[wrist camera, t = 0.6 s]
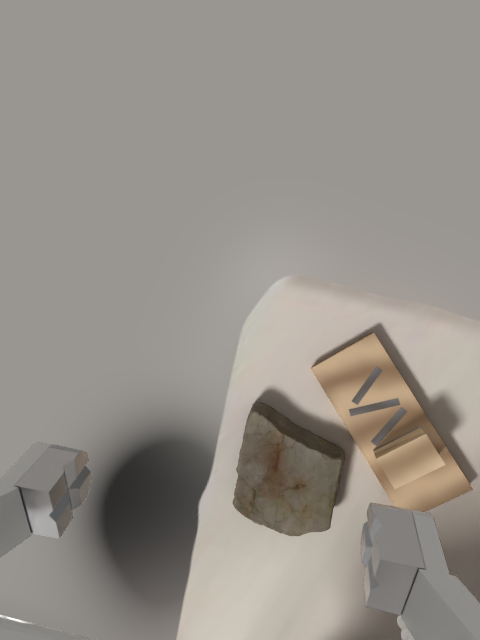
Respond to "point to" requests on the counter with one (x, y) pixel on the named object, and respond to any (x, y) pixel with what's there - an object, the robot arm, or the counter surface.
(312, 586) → the counter surface
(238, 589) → the counter surface
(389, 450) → the block
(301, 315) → the counter surface
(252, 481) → the marble piece
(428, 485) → the board
